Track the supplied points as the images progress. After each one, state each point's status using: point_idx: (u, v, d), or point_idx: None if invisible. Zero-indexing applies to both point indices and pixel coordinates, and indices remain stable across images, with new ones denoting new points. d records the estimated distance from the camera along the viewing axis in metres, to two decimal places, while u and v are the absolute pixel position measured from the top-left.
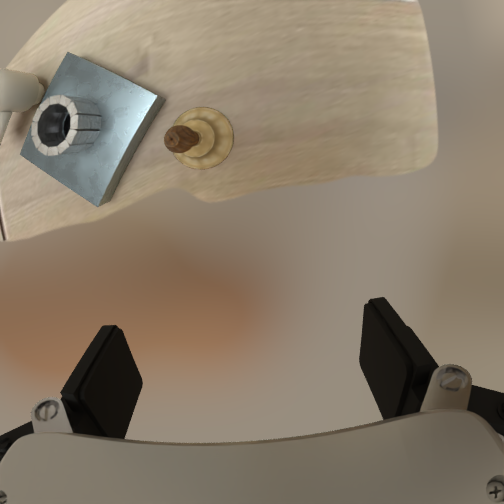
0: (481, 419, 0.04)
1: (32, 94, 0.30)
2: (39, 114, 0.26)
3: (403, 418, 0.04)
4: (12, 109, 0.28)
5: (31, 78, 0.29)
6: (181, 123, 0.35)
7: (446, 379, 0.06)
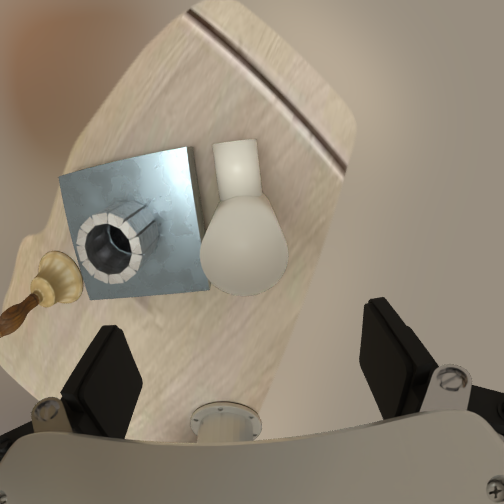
0: (481, 419, 0.04)
1: None
2: (133, 248, 0.27)
3: (403, 418, 0.04)
4: (218, 205, 0.29)
5: None
6: (70, 284, 0.37)
7: (446, 379, 0.06)
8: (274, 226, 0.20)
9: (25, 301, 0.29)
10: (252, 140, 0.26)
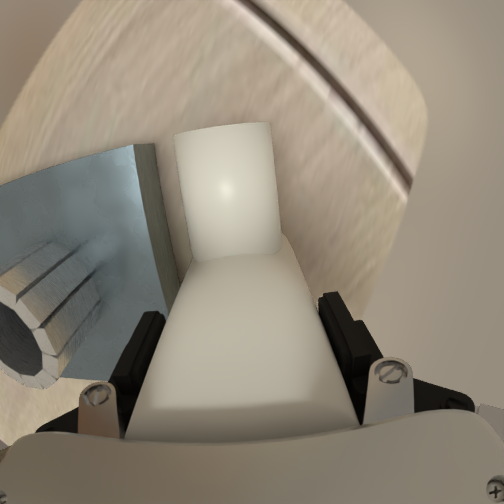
0: (481, 419, 0.04)
1: None
2: (41, 345, 0.12)
3: (403, 418, 0.04)
4: (191, 262, 0.14)
5: None
6: None
7: (385, 373, 0.07)
8: (340, 415, 0.05)
9: None
10: (262, 125, 0.11)
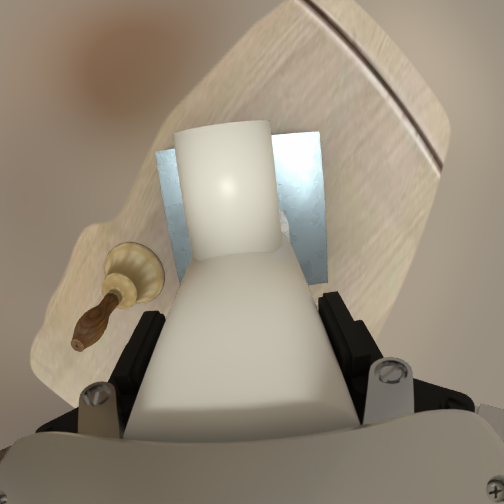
0: (481, 419, 0.04)
1: None
2: None
3: (403, 418, 0.04)
4: (191, 261, 0.14)
5: None
6: (151, 280, 0.35)
7: (385, 373, 0.07)
8: (340, 414, 0.05)
9: (104, 303, 0.28)
10: (262, 123, 0.11)
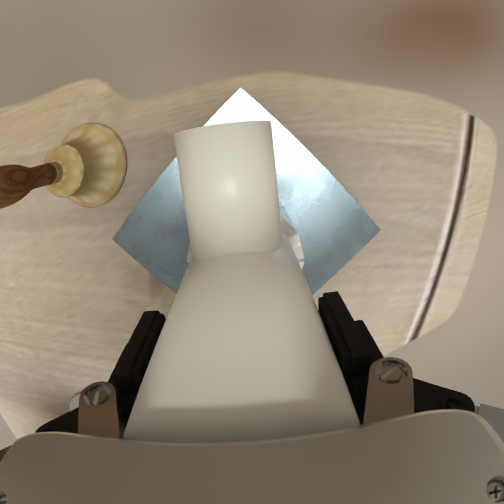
0: (481, 419, 0.04)
1: None
2: None
3: (403, 418, 0.04)
4: (191, 261, 0.14)
5: None
6: (99, 190, 0.25)
7: (385, 373, 0.07)
8: (341, 413, 0.05)
9: (39, 172, 0.17)
10: (263, 123, 0.11)
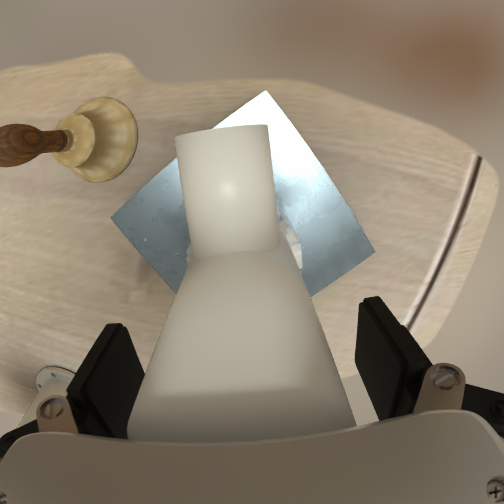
0: (481, 419, 0.04)
1: None
2: None
3: (403, 418, 0.04)
4: (192, 260, 0.15)
5: None
6: (104, 166, 0.24)
7: (439, 378, 0.06)
8: (332, 402, 0.06)
9: (51, 138, 0.16)
10: (260, 127, 0.11)
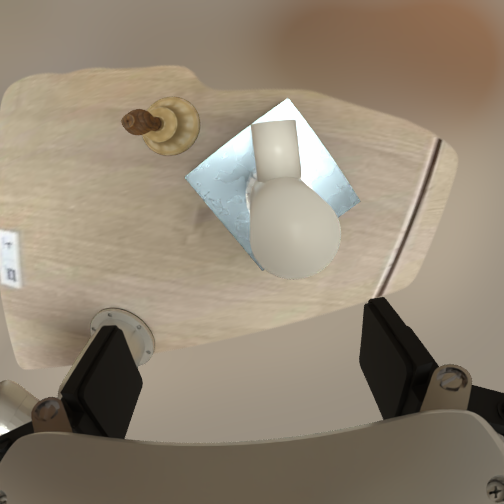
0: (481, 419, 0.04)
1: None
2: None
3: (403, 418, 0.04)
4: (256, 187, 0.28)
5: None
6: (177, 144, 0.38)
7: (446, 379, 0.06)
8: (328, 206, 0.19)
9: (155, 121, 0.29)
10: (293, 120, 0.24)
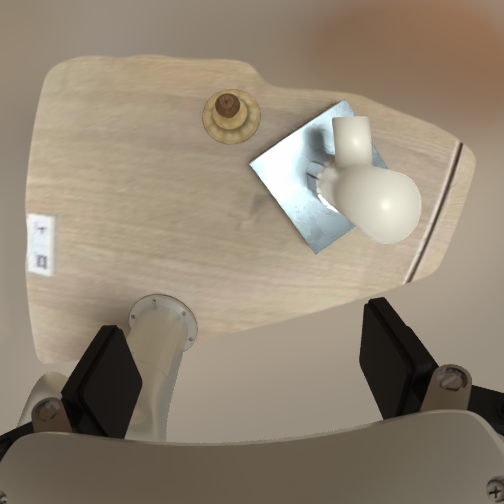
0: (481, 419, 0.04)
1: (323, 193, 0.34)
2: None
3: (403, 418, 0.04)
4: (334, 172, 0.31)
5: None
6: (241, 133, 0.40)
7: (446, 379, 0.06)
8: (414, 184, 0.22)
9: None
10: (368, 118, 0.28)
